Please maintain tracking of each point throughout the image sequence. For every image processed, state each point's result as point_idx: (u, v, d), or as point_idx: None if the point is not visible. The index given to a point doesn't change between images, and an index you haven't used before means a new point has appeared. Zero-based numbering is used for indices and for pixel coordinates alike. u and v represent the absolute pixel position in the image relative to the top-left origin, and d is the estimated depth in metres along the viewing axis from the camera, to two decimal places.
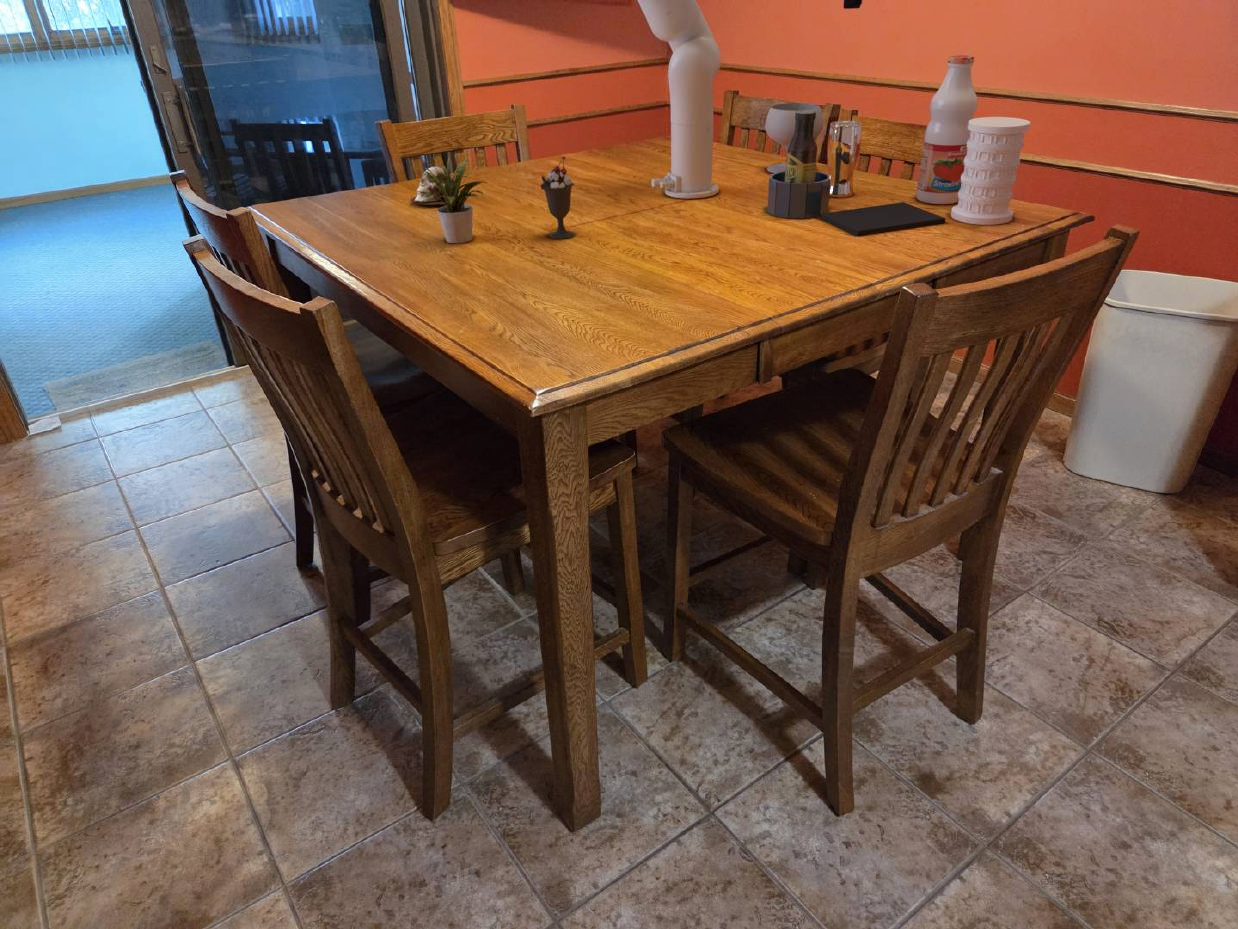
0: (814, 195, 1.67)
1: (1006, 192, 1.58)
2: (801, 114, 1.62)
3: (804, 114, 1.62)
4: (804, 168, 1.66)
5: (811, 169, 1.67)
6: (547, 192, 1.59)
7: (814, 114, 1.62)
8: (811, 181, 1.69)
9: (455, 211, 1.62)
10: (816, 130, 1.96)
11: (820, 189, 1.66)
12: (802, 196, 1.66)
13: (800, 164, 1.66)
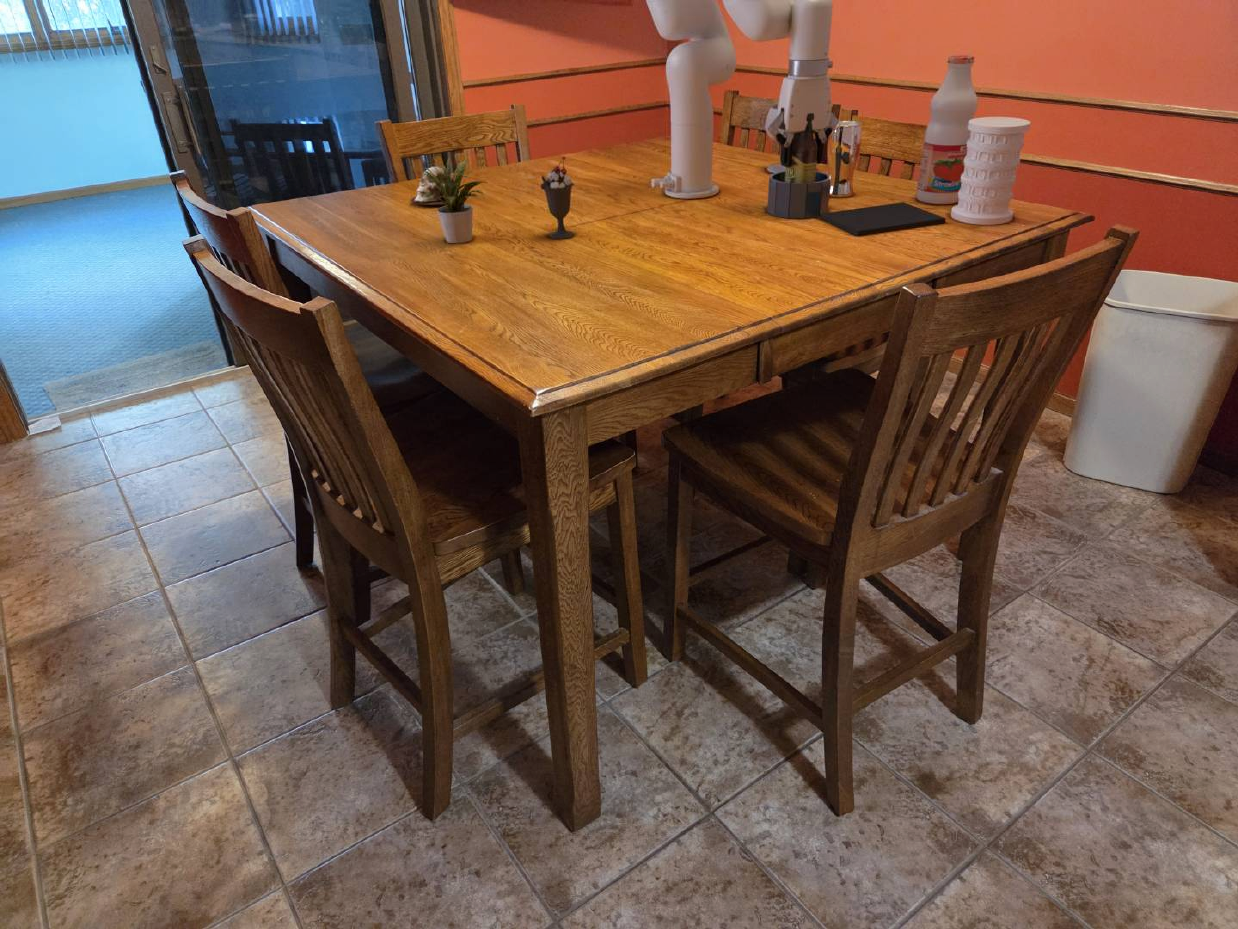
0: (814, 195, 1.67)
1: (1006, 192, 1.58)
2: None
3: None
4: (805, 168, 1.66)
5: (811, 168, 1.67)
6: (547, 192, 1.59)
7: None
8: (811, 181, 1.69)
9: (455, 211, 1.62)
10: None
11: (820, 189, 1.66)
12: (802, 196, 1.66)
13: (800, 163, 1.66)
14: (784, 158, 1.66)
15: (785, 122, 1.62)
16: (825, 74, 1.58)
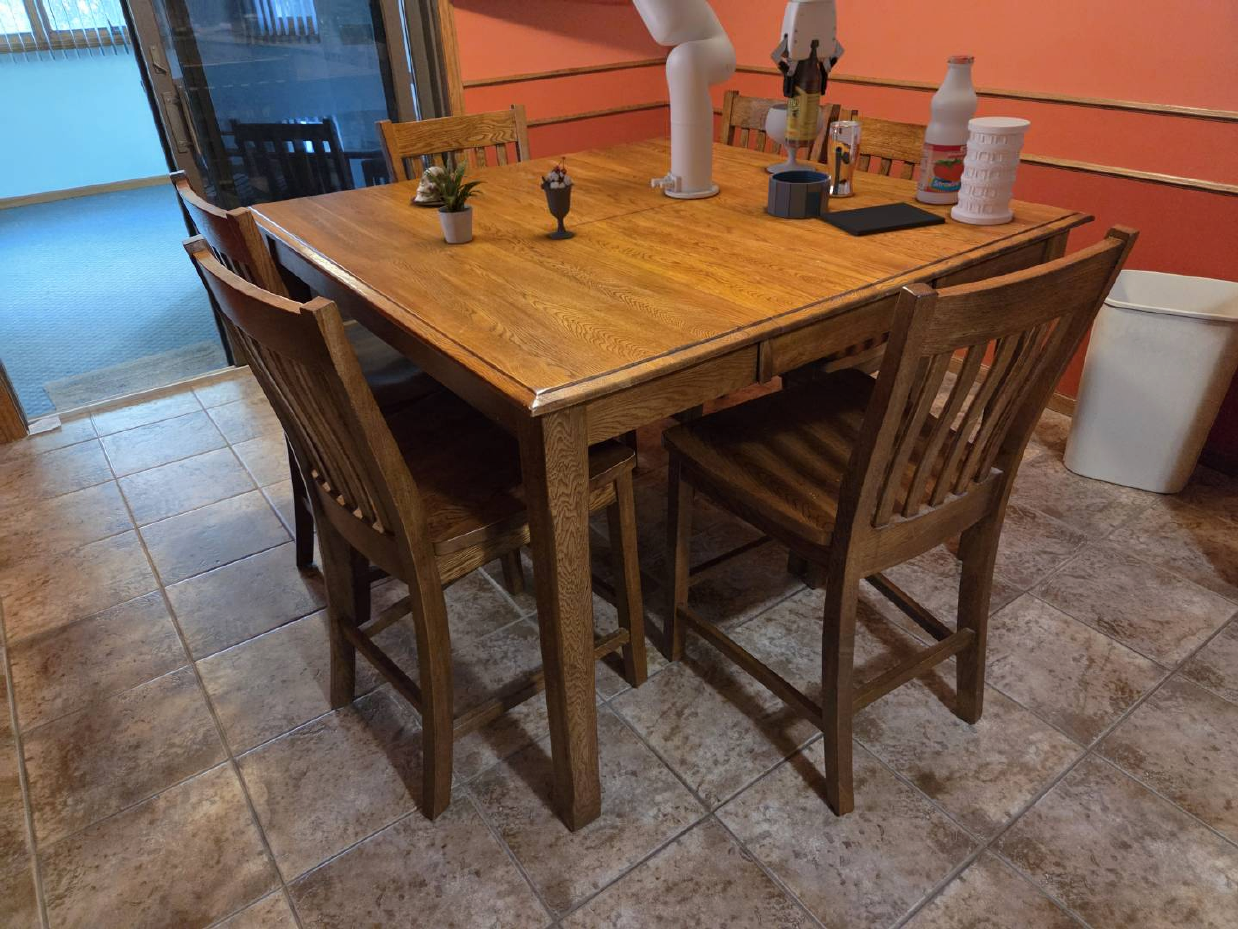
0: (814, 195, 1.67)
1: (1006, 192, 1.58)
2: None
3: None
4: (808, 99, 1.60)
5: (815, 100, 1.60)
6: (547, 192, 1.59)
7: None
8: (815, 113, 1.62)
9: (455, 211, 1.62)
10: (816, 130, 1.96)
11: (820, 189, 1.66)
12: (802, 196, 1.66)
13: (804, 94, 1.59)
14: (787, 88, 1.60)
15: (788, 48, 1.55)
16: None
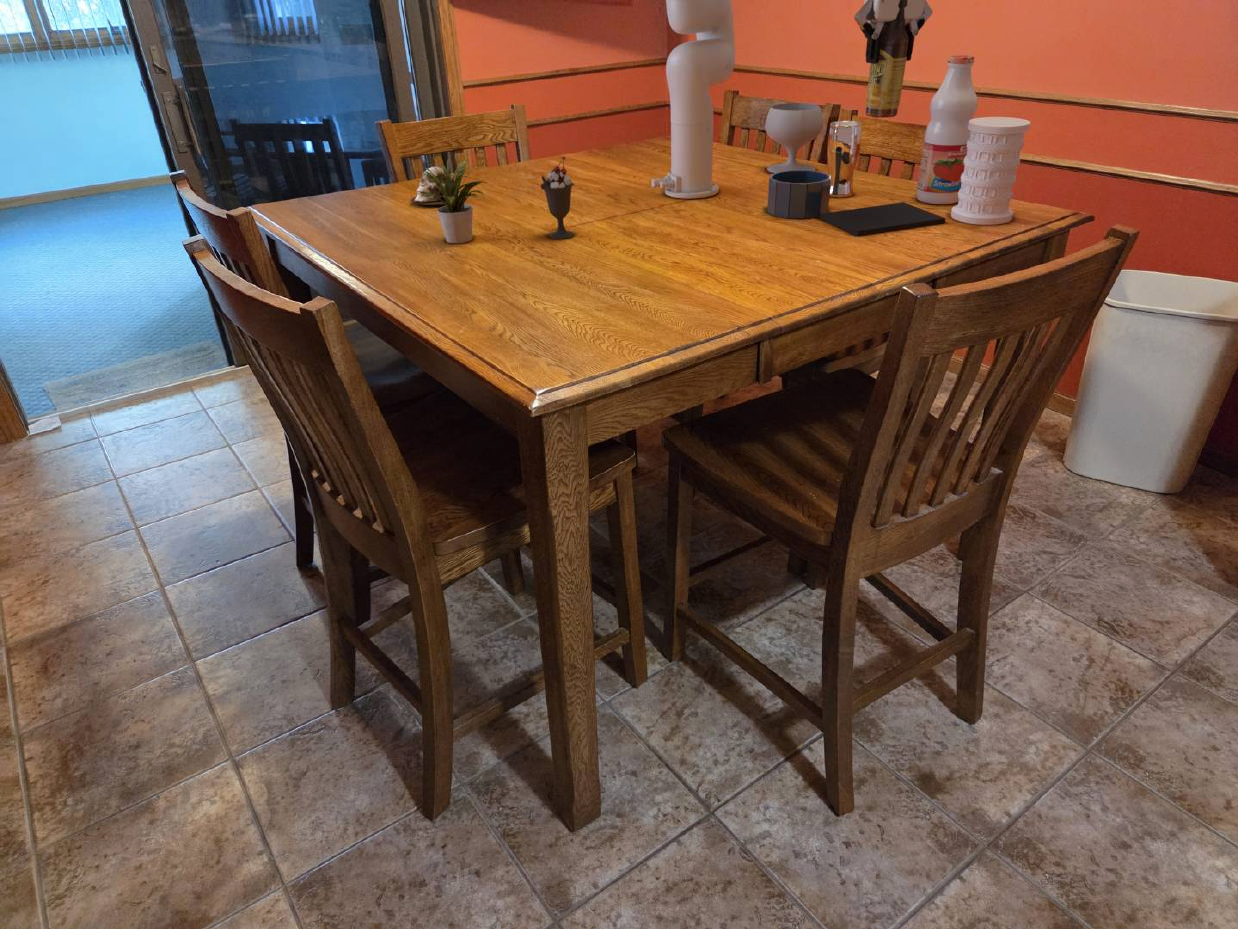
0: (814, 195, 1.67)
1: (1006, 192, 1.58)
2: None
3: None
4: (894, 64, 1.48)
5: (901, 64, 1.49)
6: (547, 192, 1.59)
7: None
8: (900, 80, 1.50)
9: (455, 211, 1.62)
10: (816, 130, 1.96)
11: (820, 189, 1.66)
12: (802, 196, 1.66)
13: (889, 58, 1.48)
14: (871, 52, 1.48)
15: (875, 9, 1.44)
16: None
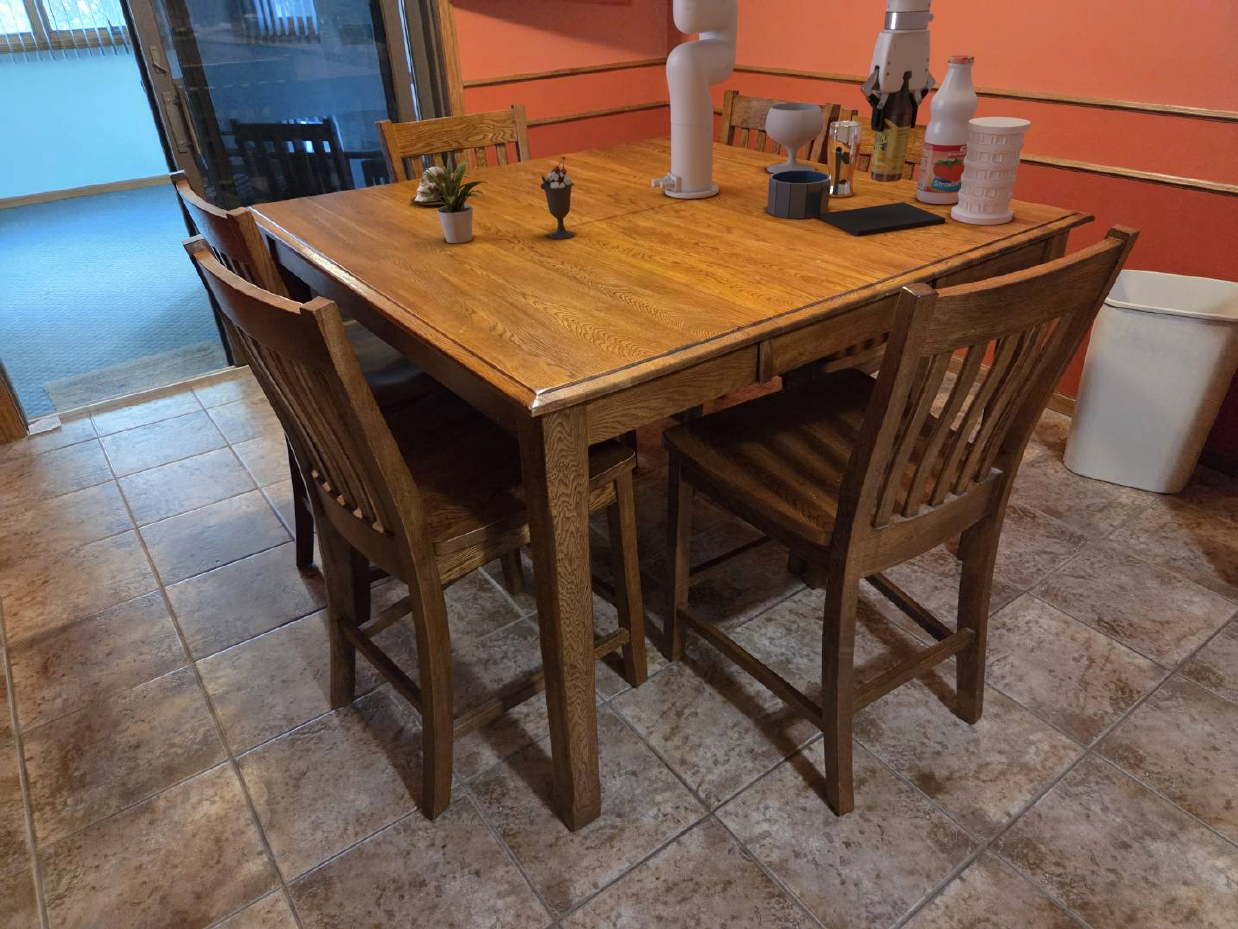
0: (814, 195, 1.67)
1: (1006, 192, 1.58)
2: None
3: None
4: (898, 132, 1.53)
5: (905, 133, 1.54)
6: (547, 192, 1.59)
7: None
8: (904, 147, 1.55)
9: (455, 211, 1.62)
10: (816, 130, 1.96)
11: (820, 189, 1.66)
12: (802, 196, 1.66)
13: (894, 127, 1.53)
14: (876, 121, 1.53)
15: (880, 81, 1.49)
16: (926, 27, 1.45)
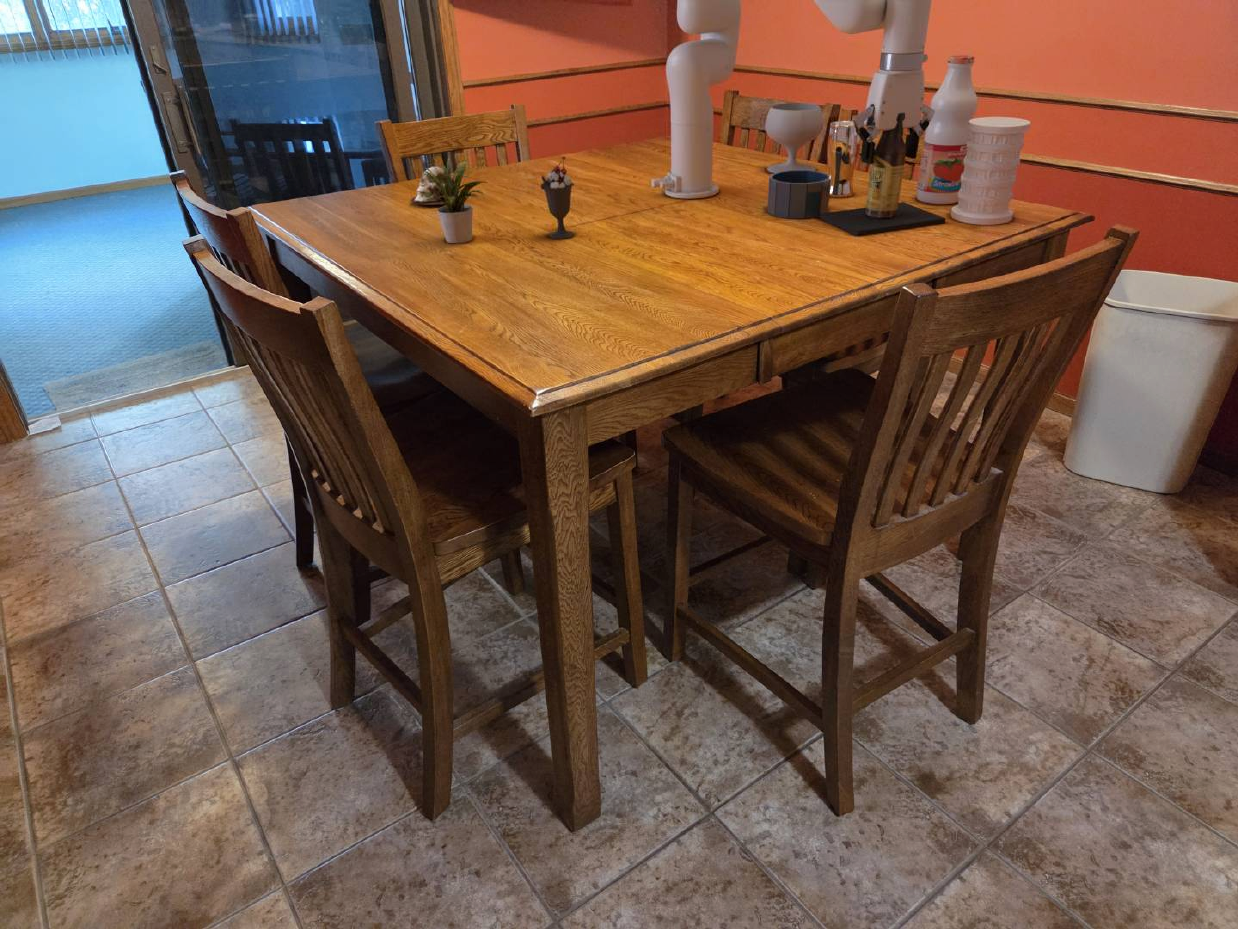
0: (814, 195, 1.67)
1: (1006, 192, 1.58)
2: None
3: None
4: (893, 171, 1.57)
5: (899, 171, 1.57)
6: (547, 192, 1.59)
7: None
8: (898, 185, 1.59)
9: (455, 211, 1.62)
10: (816, 130, 1.96)
11: (820, 189, 1.66)
12: (802, 196, 1.66)
13: (888, 166, 1.56)
14: (866, 154, 1.56)
15: (875, 119, 1.52)
16: (920, 68, 1.48)
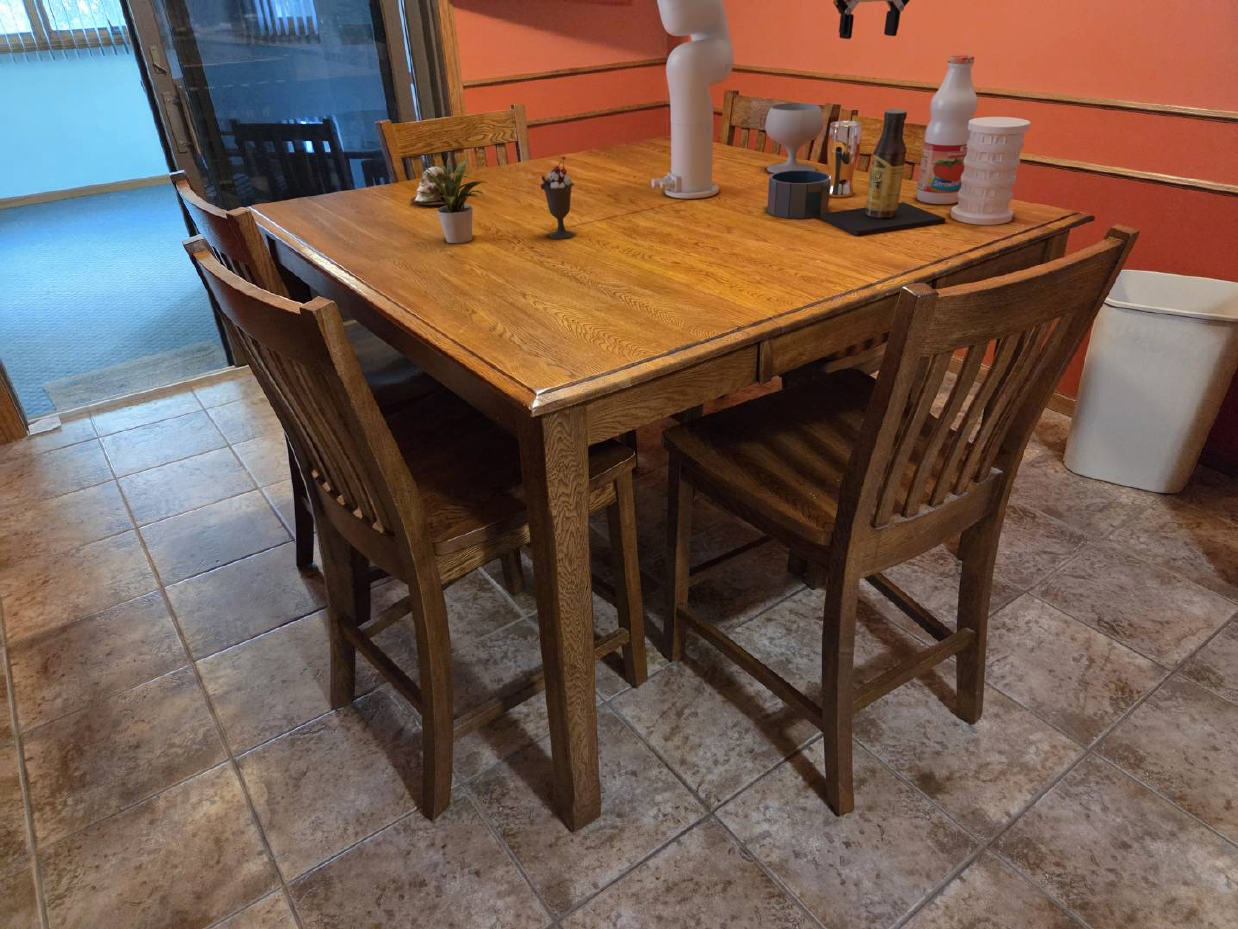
0: (814, 195, 1.67)
1: (1006, 192, 1.58)
2: (892, 114, 1.52)
3: (895, 114, 1.52)
4: (893, 171, 1.57)
5: (899, 171, 1.57)
6: (547, 192, 1.59)
7: (905, 114, 1.53)
8: (898, 185, 1.59)
9: (455, 211, 1.62)
10: (816, 130, 1.96)
11: (820, 189, 1.66)
12: (802, 196, 1.66)
13: (888, 166, 1.56)
14: (844, 28, 1.50)
15: None
16: None
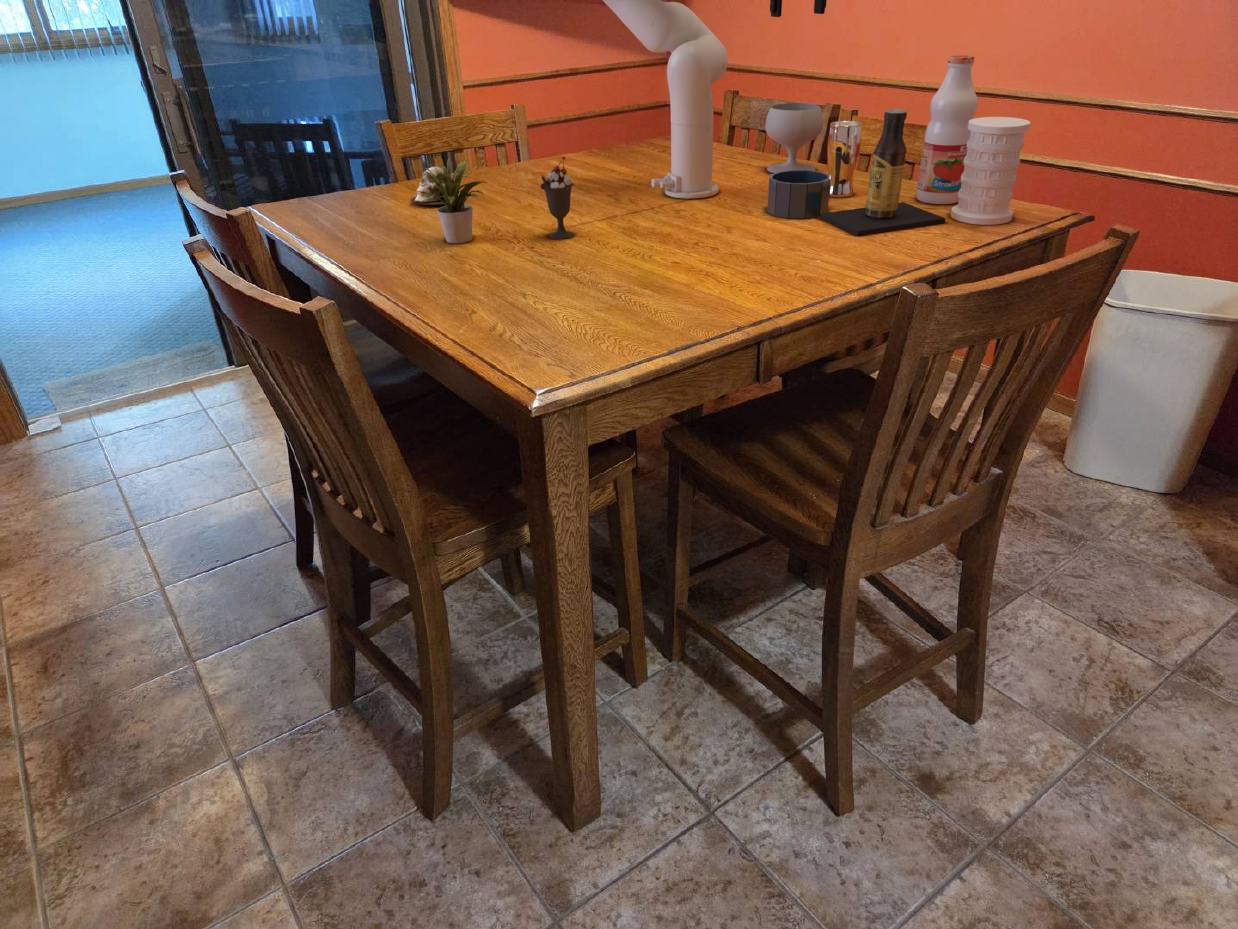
0: (814, 195, 1.67)
1: (1006, 192, 1.58)
2: (892, 114, 1.52)
3: (895, 114, 1.52)
4: (893, 171, 1.57)
5: (899, 171, 1.57)
6: (547, 192, 1.59)
7: (905, 114, 1.53)
8: (898, 185, 1.59)
9: (455, 211, 1.62)
10: (816, 130, 1.96)
11: (820, 189, 1.66)
12: (802, 196, 1.66)
13: (888, 166, 1.56)
14: (774, 6, 1.60)
15: None
16: None
